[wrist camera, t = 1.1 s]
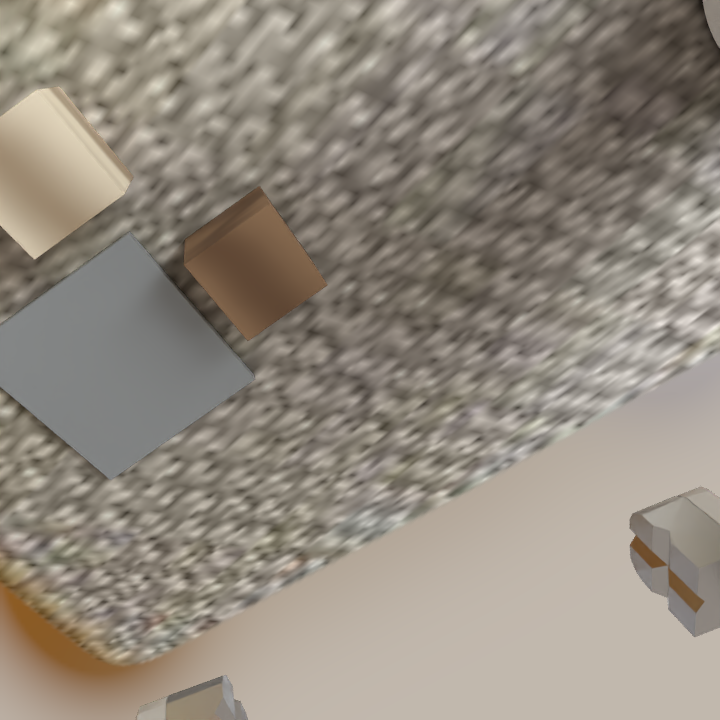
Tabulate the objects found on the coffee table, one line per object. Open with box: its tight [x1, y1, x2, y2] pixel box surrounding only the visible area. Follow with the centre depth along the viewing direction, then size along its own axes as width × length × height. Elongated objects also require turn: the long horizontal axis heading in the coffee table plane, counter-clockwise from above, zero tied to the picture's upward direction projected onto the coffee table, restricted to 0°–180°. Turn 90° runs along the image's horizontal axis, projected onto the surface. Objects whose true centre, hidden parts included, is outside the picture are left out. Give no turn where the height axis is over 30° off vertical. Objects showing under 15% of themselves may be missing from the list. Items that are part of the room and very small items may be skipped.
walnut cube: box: [184, 186, 327, 341], centre depth 32 cm, size 5×5×5 cm
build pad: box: [0, 231, 255, 480], centre depth 35 cm, size 11×11×1 cm
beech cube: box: [0, 87, 133, 260], centre depth 28 cm, size 5×5×5 cm
